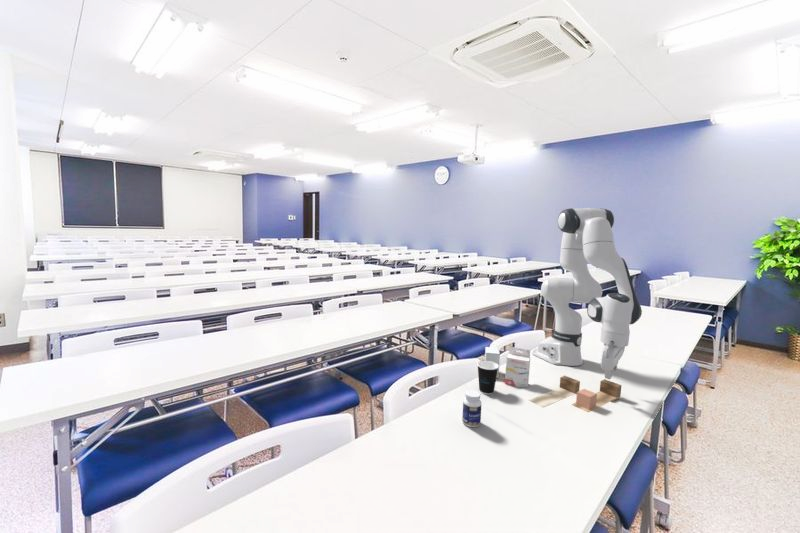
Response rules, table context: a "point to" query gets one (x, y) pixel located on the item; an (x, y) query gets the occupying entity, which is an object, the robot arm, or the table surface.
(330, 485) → the table surface
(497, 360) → the small box
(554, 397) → the pale ash strip
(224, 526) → the table surface
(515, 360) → the ink cartridge box
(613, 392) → the oak strip
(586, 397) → the terracotta cube
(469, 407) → the pill bottle
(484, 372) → the dixie cup
